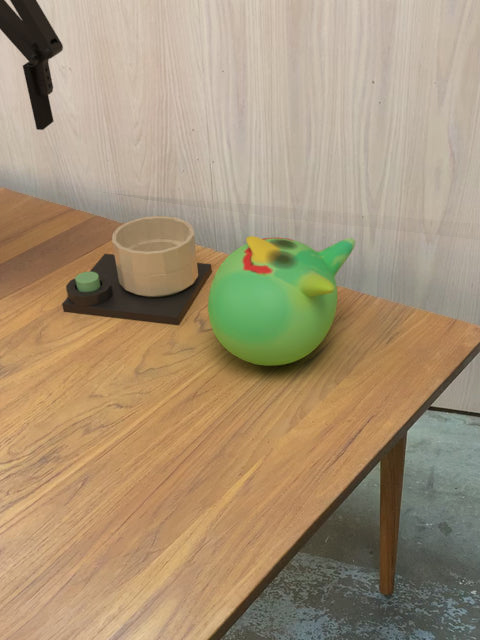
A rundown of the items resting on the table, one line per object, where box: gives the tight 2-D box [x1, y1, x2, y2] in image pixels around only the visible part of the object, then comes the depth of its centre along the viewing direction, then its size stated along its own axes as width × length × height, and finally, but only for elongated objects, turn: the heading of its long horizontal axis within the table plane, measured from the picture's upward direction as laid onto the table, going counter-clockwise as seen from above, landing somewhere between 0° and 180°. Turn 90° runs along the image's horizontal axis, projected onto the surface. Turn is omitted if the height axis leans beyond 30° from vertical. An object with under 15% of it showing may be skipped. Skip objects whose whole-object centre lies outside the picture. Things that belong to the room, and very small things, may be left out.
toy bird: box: [207, 235, 356, 367], centre depth 96 cm, size 18×17×15 cm
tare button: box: [75, 271, 100, 292], centre depth 108 cm, size 3×3×2 cm
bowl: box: [111, 215, 198, 297], centre depth 110 cm, size 11×11×7 cm
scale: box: [61, 253, 213, 326], centre depth 111 cm, size 17×15×3 cm
